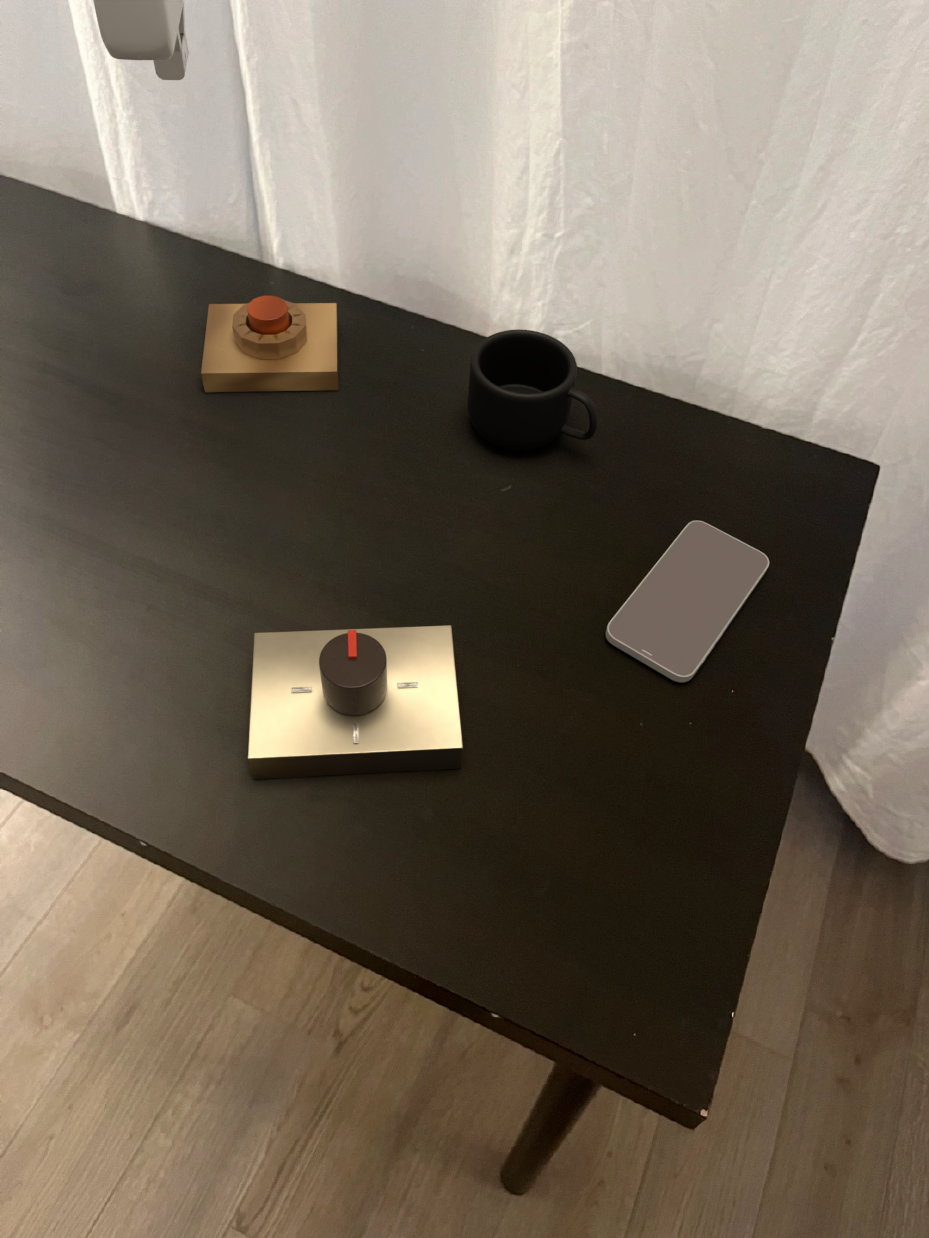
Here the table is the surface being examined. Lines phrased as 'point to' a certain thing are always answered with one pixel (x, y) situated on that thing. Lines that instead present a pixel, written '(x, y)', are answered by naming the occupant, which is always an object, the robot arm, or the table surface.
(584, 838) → the table surface
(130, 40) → the robot arm
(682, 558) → the smartphone
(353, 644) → the dial knob
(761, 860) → the table surface
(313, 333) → the button block
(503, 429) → the mug
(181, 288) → the table surface
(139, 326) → the table surface
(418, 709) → the dial panel
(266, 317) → the red button
